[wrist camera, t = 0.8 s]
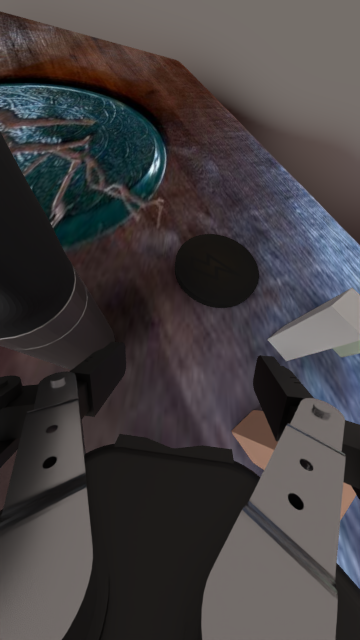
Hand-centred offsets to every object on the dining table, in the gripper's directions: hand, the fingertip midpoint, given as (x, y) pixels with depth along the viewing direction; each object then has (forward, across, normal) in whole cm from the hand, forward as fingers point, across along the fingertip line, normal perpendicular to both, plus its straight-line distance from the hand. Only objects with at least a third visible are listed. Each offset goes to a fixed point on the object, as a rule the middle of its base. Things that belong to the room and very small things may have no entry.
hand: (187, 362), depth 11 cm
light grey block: (+25, -17, +8) cm, 31 cm away
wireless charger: (+33, -3, -4) cm, 33 cm away
